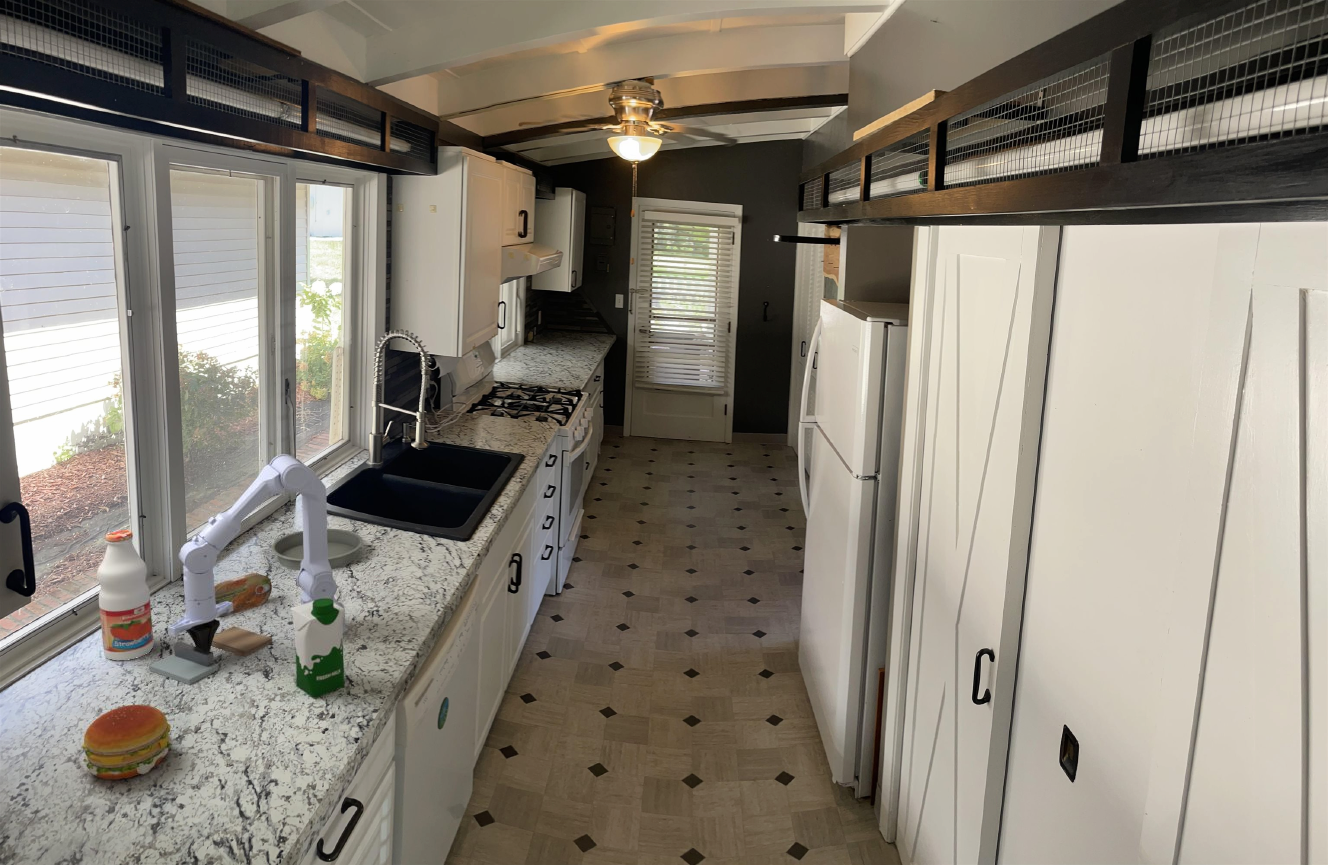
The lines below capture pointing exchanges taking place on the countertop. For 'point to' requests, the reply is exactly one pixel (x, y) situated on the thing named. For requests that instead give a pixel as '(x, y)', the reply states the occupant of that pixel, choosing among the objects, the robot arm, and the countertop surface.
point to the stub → (186, 664)
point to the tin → (243, 592)
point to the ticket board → (240, 641)
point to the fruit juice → (124, 599)
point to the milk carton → (319, 646)
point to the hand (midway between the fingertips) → (204, 652)
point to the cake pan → (338, 543)
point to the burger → (126, 742)
